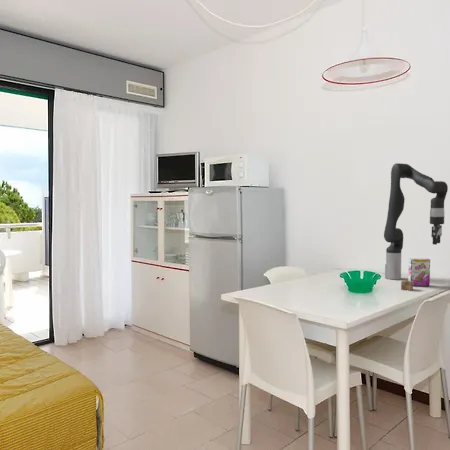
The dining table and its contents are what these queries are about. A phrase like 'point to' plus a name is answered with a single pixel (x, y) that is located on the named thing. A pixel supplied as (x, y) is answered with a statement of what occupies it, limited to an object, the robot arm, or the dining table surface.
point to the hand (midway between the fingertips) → (436, 243)
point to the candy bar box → (419, 271)
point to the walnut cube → (406, 285)
